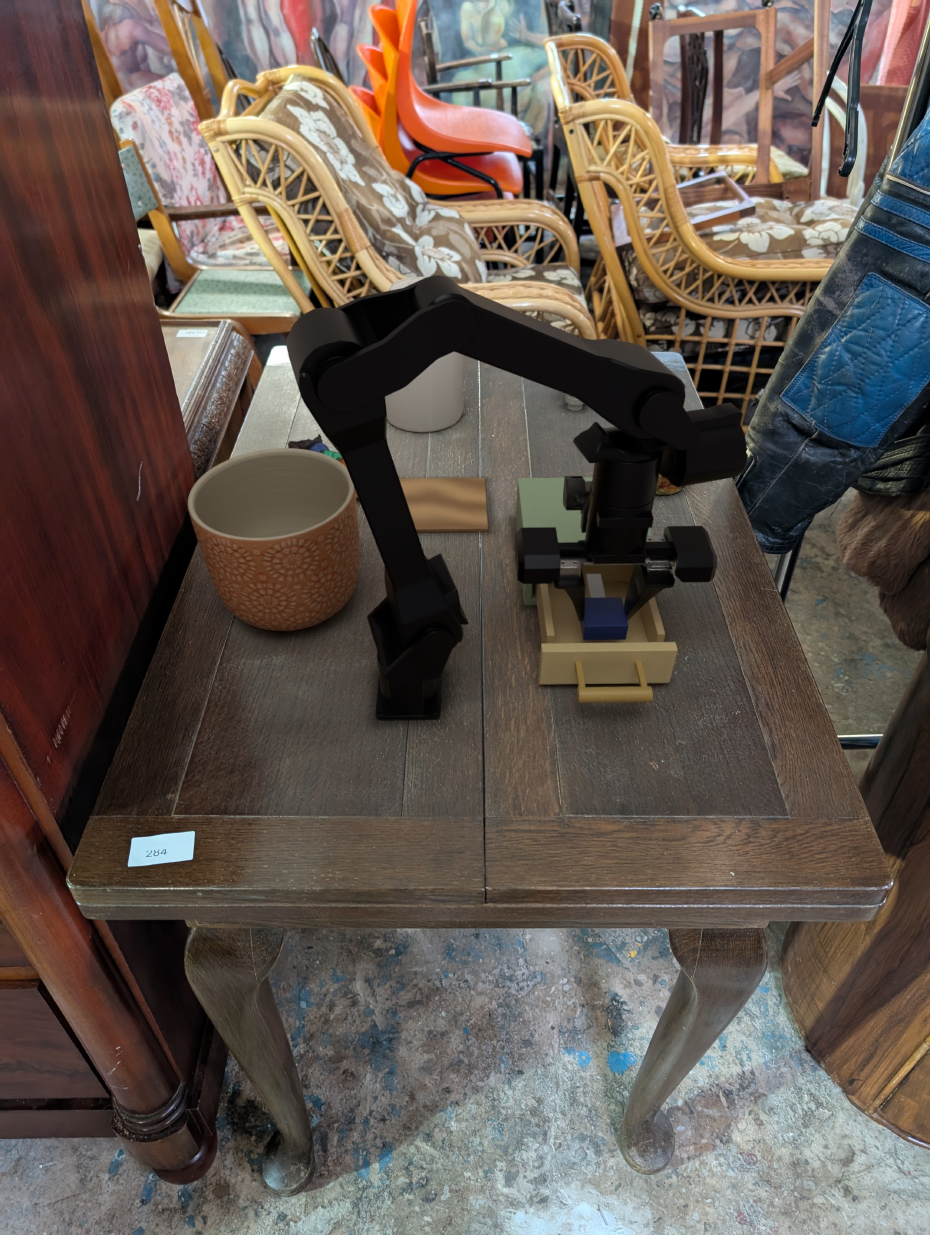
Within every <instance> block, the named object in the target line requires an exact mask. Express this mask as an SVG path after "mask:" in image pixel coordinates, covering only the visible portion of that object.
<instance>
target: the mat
mask: <svg viewBox="0 0 930 1235" xmlns="http://www.w3.org/2000/svg"><path fill="white" fill-rule="evenodd" d="M399 480H400V483H401V486H402V489H403V492H404V495H405V498H406V501H407V504H408V507H409V510H410V513H411V516H412V519H413V522H414V525H415V528H416V531H417V533H481V532H482V533H484V532H485V533H487V532H489V525H488V524H489V522H488V507H487V505H488V504H487V489H486V478H485V477H412V478H411V477H404V478H403V477H399Z"/></svg>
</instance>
